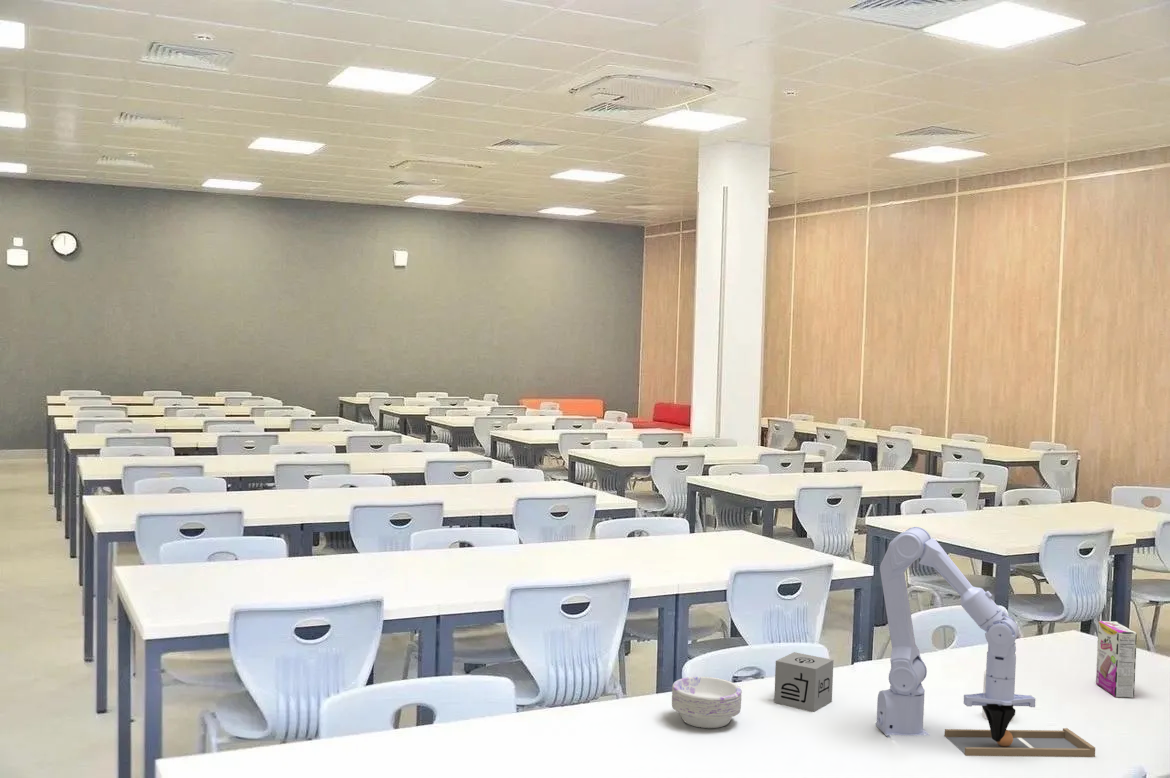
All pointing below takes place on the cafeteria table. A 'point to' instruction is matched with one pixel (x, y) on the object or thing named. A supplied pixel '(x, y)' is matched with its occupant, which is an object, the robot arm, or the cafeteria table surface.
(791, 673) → the icon cube
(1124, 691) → the candy bar box
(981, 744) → the lane
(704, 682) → the paper bowls
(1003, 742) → the ball
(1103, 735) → the cafeteria table surface
